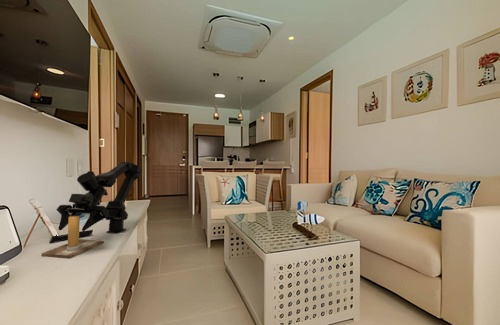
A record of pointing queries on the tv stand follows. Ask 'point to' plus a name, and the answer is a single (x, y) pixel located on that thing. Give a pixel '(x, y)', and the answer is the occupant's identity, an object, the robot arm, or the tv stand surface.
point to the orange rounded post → (73, 233)
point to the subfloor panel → (62, 252)
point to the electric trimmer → (65, 237)
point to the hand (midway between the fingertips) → (71, 230)
